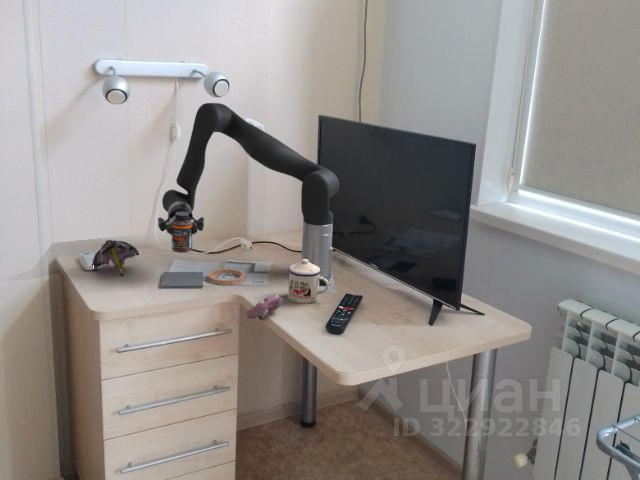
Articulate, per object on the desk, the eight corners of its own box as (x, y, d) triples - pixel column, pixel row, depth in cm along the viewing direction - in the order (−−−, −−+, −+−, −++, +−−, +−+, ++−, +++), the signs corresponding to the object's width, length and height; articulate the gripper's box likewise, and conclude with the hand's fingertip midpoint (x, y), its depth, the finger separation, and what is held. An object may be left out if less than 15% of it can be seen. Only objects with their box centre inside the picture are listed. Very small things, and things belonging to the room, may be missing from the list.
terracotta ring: (243, 272, 215) (243, 268, 215) (245, 285, 205) (245, 280, 204) (208, 272, 213) (208, 268, 213) (207, 285, 203) (207, 280, 202)
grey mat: (203, 274, 212) (203, 271, 211) (202, 288, 200) (202, 285, 200) (163, 274, 210) (163, 271, 210) (160, 288, 198) (160, 285, 198)
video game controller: (255, 327, 180) (265, 308, 176) (244, 315, 181) (253, 296, 178) (279, 316, 187) (289, 297, 184) (268, 305, 189) (277, 287, 185)
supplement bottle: (170, 252, 199) (169, 215, 196) (173, 246, 205) (172, 210, 202) (191, 253, 200) (190, 216, 196) (193, 247, 206) (193, 210, 202)
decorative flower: (129, 232, 217) (132, 232, 203) (142, 267, 218) (146, 268, 204) (83, 248, 212) (83, 248, 198) (96, 283, 214) (97, 286, 200)
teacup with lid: (282, 300, 194) (284, 261, 191) (294, 290, 202) (296, 253, 199) (322, 308, 190) (324, 268, 187) (332, 297, 198) (335, 259, 195)
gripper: (156, 204, 211) (156, 219, 195) (203, 204, 214) (207, 218, 199) (156, 227, 213) (157, 244, 198) (203, 227, 217) (207, 243, 201)
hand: (182, 231), depth 198 cm, fingers closed on supplement bottle, 6 cm apart
